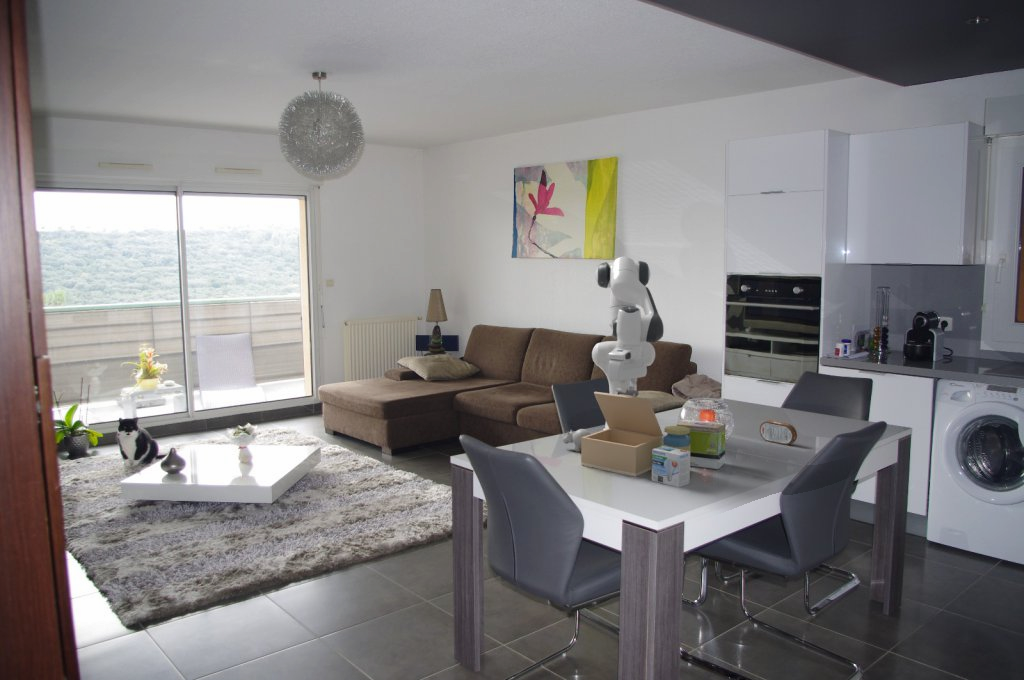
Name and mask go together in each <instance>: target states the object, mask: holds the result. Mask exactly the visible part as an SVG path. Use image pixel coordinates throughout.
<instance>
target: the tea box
mask: <svg viewBox="0 0 1024 680" xmlns="http://www.w3.org/2000/svg"><path fill="white" fill-rule="evenodd" d="M676 426H683V427H687V428H690V432H689V434H687V435H688V436H690V437H691V447H690V467H697V468H699V467H700V468H705V469H712V470H718V469H720V468H721V467H722V466H723V465H724V464H725V463H726V423H725V422H715V421H706V420H705V421H704V420H692V419H684V420H682V421H680V422H679V423H677V424H676Z"/></svg>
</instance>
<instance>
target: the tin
mask: <svg viewBox="0 0 1024 680" xmlns="http://www.w3.org/2000/svg"><path fill="white" fill-rule="evenodd" d="M759 434H760V437H761V438H762V439H763V440H764V441H765V442H766V441H767V442H769V443H775V444H778V445H779V444H780V445H785V446H786V445H787V446H789V445H792V444H794V443H795V442H796V440H797V438H798V433H797V430H796V428H795V427H794V426H793V425H792V424H791V423H787V422H782V421H777V420H773V419H772V420H771V419H769V420H765V421H763V422H762V423H761V424H760V426H759Z"/></svg>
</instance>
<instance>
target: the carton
mask: <svg viewBox="0 0 1024 680" xmlns="http://www.w3.org/2000/svg"><path fill="white" fill-rule="evenodd" d="M661 446H663V436H662V437H659V436H653V435H645V434H639V433H633V432H627V431H621V430H615V429H606V430H603V429H602V430H600V431H596V432H594V433H591V435H587V436H584V437H581V452H580V455H581V456H580V461H581V462H580V465H581V466H583V465H584V467H589V468H592V467H594V468H593V469H597V468H598V469H597V470H601V471H607V472H612V473H616V474H621V475H626V476H631V477H638V476H640V475H642V474H644V473H647V472H649V471H652V450H653V449H655V448H658V447H661Z"/></svg>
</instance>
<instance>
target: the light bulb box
mask: <svg viewBox="0 0 1024 680" xmlns="http://www.w3.org/2000/svg"><path fill="white" fill-rule="evenodd" d="M690 473H691V466H690V451H686V450H681V449H677V448H672V447H667V446H663V445H662V446H661V447H658V448H655V449H653V450H652V469H651V481H653V482H655V483H660V484H663V485H667V486H670V487H675V488H681V487H682V486H685V485H688V484H690V482H691V481H690V477H691V476H690Z"/></svg>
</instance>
